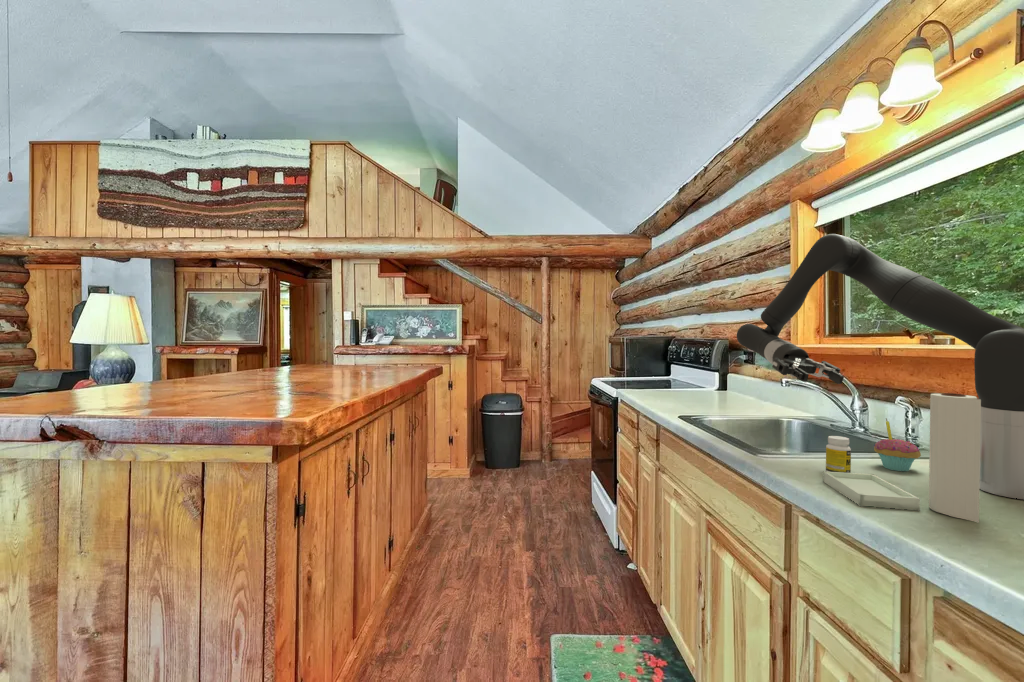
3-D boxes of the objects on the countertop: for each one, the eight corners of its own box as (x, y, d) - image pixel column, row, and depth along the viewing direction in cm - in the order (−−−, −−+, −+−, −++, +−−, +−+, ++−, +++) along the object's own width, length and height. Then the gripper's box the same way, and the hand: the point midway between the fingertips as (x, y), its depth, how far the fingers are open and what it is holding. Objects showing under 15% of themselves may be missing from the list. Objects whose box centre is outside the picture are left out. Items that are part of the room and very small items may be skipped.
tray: (873, 484, 98) (873, 474, 98) (919, 510, 83) (919, 498, 83) (822, 481, 100) (823, 471, 100) (859, 506, 85) (860, 494, 85)
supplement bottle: (850, 478, 102) (851, 440, 102) (825, 474, 105) (825, 437, 105) (850, 473, 106) (851, 437, 106) (826, 469, 109) (826, 434, 109)
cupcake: (878, 470, 108) (878, 420, 108) (870, 461, 116) (870, 414, 115) (925, 475, 104) (926, 423, 104) (913, 466, 112) (914, 417, 111)
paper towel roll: (927, 503, 87) (929, 391, 86) (972, 511, 83) (974, 394, 82) (930, 515, 81) (932, 395, 81) (978, 524, 77) (980, 398, 77)
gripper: (763, 341, 124) (798, 362, 108) (814, 344, 124) (857, 366, 108) (756, 367, 126) (790, 391, 110) (807, 370, 126) (848, 395, 111)
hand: (824, 379), depth 109 cm, fingers open, 8 cm apart
